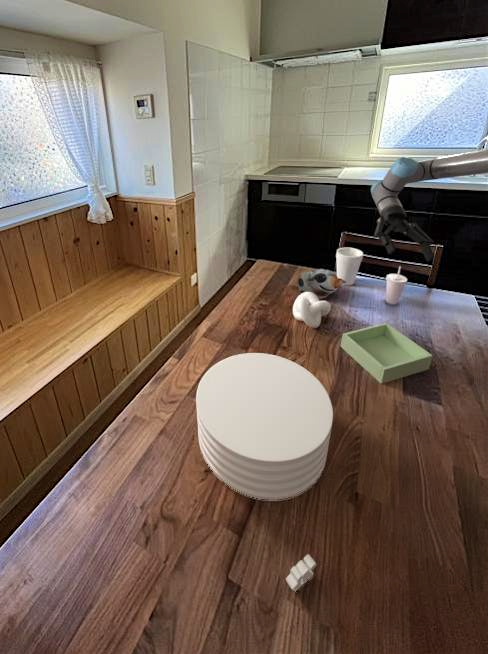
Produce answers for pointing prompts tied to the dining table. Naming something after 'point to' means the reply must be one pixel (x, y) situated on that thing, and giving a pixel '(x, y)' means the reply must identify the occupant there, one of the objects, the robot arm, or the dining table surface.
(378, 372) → the bin
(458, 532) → the dining table surface
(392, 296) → the smoothie
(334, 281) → the grey animal head
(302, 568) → the white stepped block
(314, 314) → the white puffy blob
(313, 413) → the plate stack
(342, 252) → the foam cup
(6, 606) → the dining table surface
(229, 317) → the dining table surface
